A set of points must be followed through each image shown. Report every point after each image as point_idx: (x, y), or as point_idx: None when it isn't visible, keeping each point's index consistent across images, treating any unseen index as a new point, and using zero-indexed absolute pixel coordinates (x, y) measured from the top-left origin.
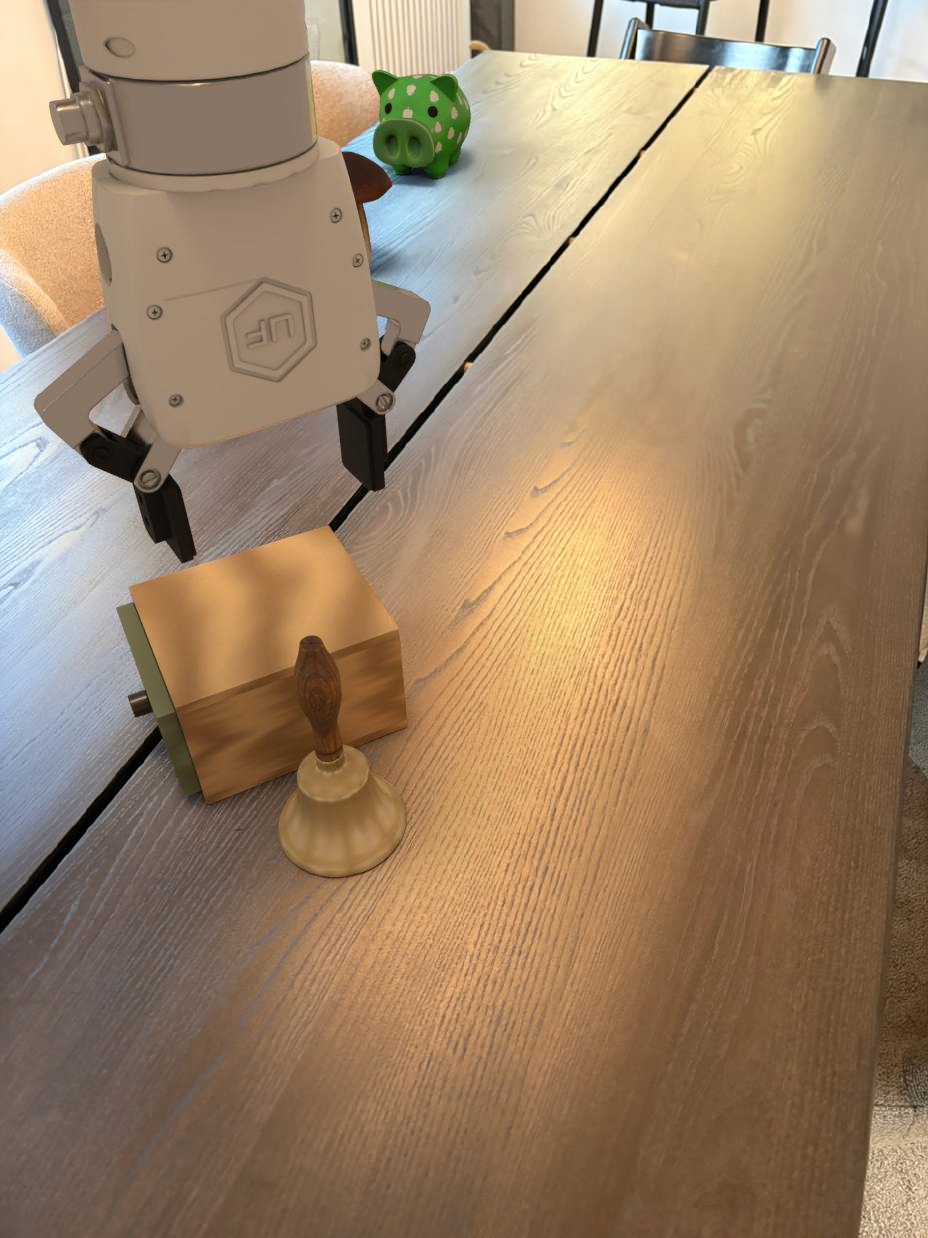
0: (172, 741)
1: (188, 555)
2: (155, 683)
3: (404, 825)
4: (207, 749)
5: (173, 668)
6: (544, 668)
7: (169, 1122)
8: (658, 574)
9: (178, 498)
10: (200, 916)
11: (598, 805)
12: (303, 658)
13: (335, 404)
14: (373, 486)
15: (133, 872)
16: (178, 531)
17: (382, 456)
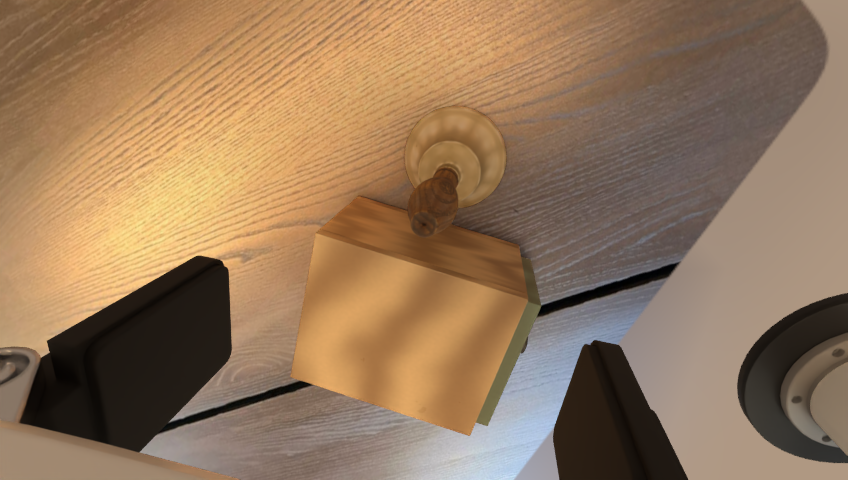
0: (531, 287)
1: (608, 348)
2: (517, 337)
3: (422, 119)
4: (509, 266)
5: (500, 337)
6: (235, 162)
7: (715, 38)
8: (93, 170)
9: (648, 460)
10: (585, 168)
11: (288, 19)
12: (440, 218)
13: (49, 431)
14: (215, 267)
15: (594, 234)
16: (635, 394)
17: (144, 287)
